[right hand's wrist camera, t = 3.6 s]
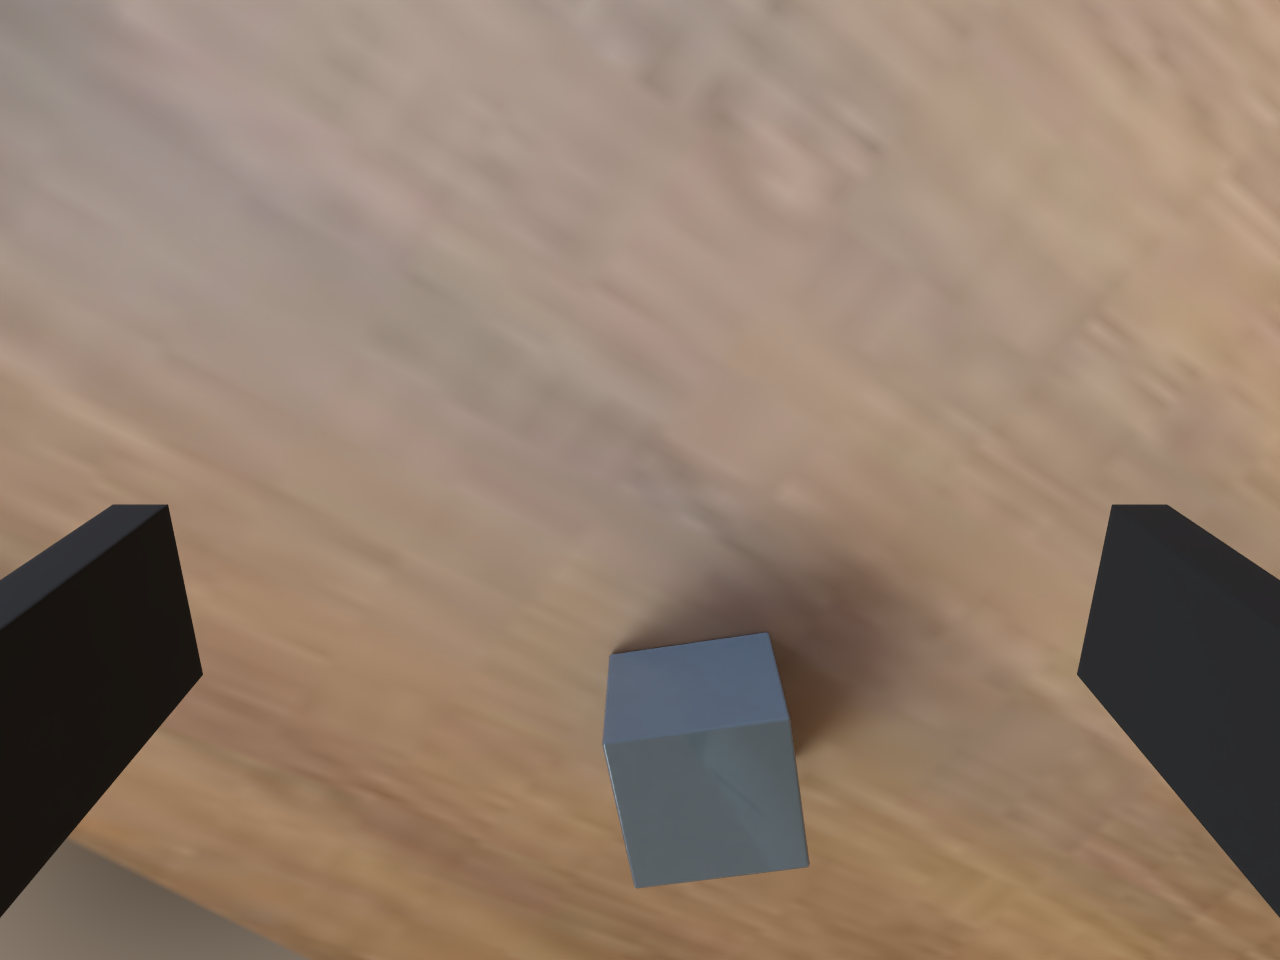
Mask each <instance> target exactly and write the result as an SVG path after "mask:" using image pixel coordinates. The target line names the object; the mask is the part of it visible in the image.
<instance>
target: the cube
mask: <svg viewBox="0 0 1280 960" xmlns="http://www.w3.org/2000/svg"><path fill="white" fill-rule="evenodd" d="M602 745H603V750H604V754H605V759H606V763H607V768H608V772H609V776H610V781H611V785H612V790H613V794H614V799H615V803H616V808H617V812H618V816H619V821H620V825H621V830H622V834H623V839H624V843H625V848H626V852H627V856H628V861H629V865H630V870H631V874H632V879H633V883H634V886H635V888H644V887H652V886H660V885H668V884H676V883H684V882H692V881H700V880H709V879H717V878H725V877H733V876H741V875H749V874H757V873H765V872H773V871H781V870H789V869H798V868H806V867H809V864H810V863H809V855H808V848H807V840H806V833H805V825H804V817H803V810H802V802H801V795H800V787H799V779H798V772H797V764H796V757H795V749H794V741H793V734H792V726H791V719H790V715H789V711H788V707H787V702H786V698H785V694H784V690H783V686H782V682H781V678H780V674H779V670H778V666H777V662H776V658H775V654H774V650H773V646H772V642H771V638H770V634H769V633H768V632H765V633H758V634H751V635H744V636H737V637H730V638H723V639H716V640H709V641H702V642H695V643H688V644H681V645H674V646H667V647H660V648H653V649H646V650H639V651H632V652H625V653H618V654H611V655H610V656H609V666H608V678H607V691H606V704H605V716H604V729H603V741H602Z"/></svg>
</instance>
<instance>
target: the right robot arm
mask: <svg viewBox="0 0 1280 960" xmlns="http://www.w3.org/2000/svg"><path fill="white" fill-rule="evenodd" d="M202 675H203V673H202V668H201V663H200V658H199V653H198V648H197V643H196V638H195V634H194V629H193V624H192V619H191V614H190V609H189V604H188V600H187V595H186V590H185V585H184V580H183V575H182V570H181V566H180V561H179V556H178V551H177V546H176V541H175V536H174V532H173V527H172V522H171V517H170V512H169V507H168V505H112V506H110V507H109V508H107V509H106V510H104V511H103V512H101V513H100V514H98V515H97V516H95V517H94V518H92V519H91V520H89V521H88V522H86V523H85V524H83V525H82V526H80V527H79V528H77V529H76V530H74V531H73V532H71V533H70V534H68V535H67V536H65V537H64V538H62V539H61V540H59V541H58V542H57V543H55V544H54V545H52V546H51V547H49V548H48V549H46V550H45V551H43V552H42V553H40V554H39V555H37V556H36V557H34V558H33V559H31V560H30V561H28V562H27V563H25V564H24V565H22V566H21V567H19V568H18V569H16V570H15V571H13V572H12V573H10V574H9V575H7V576H6V577H4V578H3V579H1V580H0V917H1V916H2V915H3V914H4V913H5V911H6V910H7V909H8V908H9V907H10V905H11V904H12V903H13V902H14V901H15V899H16V898H17V897H18V896H19V895H20V893H21V892H22V891H23V890H24V889H25V887H26V886H27V885H28V884H29V883H30V881H31V880H32V879H33V878H34V877H35V875H36V874H37V873H38V872H39V871H40V869H41V868H42V867H43V866H44V865H45V863H46V862H47V861H48V860H49V859H50V857H51V856H52V855H53V854H54V853H55V851H56V850H57V849H58V848H59V847H60V845H61V844H62V843H63V842H64V841H65V839H66V838H67V837H68V836H69V835H70V833H71V832H72V831H73V830H74V829H75V827H76V826H77V825H78V824H79V823H80V821H81V820H82V819H83V818H84V817H85V815H86V814H87V813H88V812H89V811H90V809H91V808H92V807H93V806H94V805H95V803H96V802H97V801H98V800H99V799H100V797H101V796H102V795H103V794H104V793H105V791H106V790H107V789H108V788H109V787H110V785H111V784H112V783H113V782H114V781H115V779H116V778H117V777H118V776H119V775H120V773H121V772H122V771H123V770H124V769H125V767H126V766H127V765H128V764H129V763H130V761H131V760H132V759H133V758H134V757H135V755H136V754H137V753H138V752H139V751H140V749H141V748H142V747H143V746H144V745H145V744H146V742H147V741H148V740H149V739H150V738H151V736H152V735H153V734H154V733H155V732H156V730H157V729H158V728H159V727H160V726H161V724H162V723H163V722H164V721H165V720H166V718H167V717H168V716H169V715H170V714H171V712H172V711H173V710H174V709H175V708H176V706H177V705H178V704H179V703H180V702H181V700H182V699H183V698H184V697H185V696H186V694H187V693H188V692H189V691H190V690H191V688H192V687H193V686H194V685H195V684H196V682H197V681H198V680H199V679H200V678H201V676H202ZM1077 675H1078V676H1079V678H1080V679H1081V680H1082V681H1083V682H1084V684H1085V685H1086V686H1087V687H1088V688H1089V690H1090V691H1091V692H1092V693H1093V694H1094V696H1095V697H1096V698H1097V699H1098V700H1099V702H1100V703H1101V704H1102V705H1103V706H1104V708H1105V709H1106V710H1107V711H1108V712H1109V714H1110V715H1111V716H1112V717H1113V718H1114V720H1115V721H1116V722H1117V723H1118V724H1119V726H1120V727H1121V728H1122V729H1123V730H1124V732H1125V733H1126V734H1127V735H1128V736H1129V738H1130V739H1131V740H1132V741H1133V742H1134V744H1135V745H1136V746H1137V747H1138V748H1139V749H1140V751H1141V752H1142V753H1143V754H1144V755H1145V757H1146V758H1147V759H1148V760H1149V761H1150V763H1151V764H1152V765H1153V766H1154V767H1155V769H1156V770H1157V771H1158V772H1159V773H1160V775H1161V776H1162V777H1163V778H1164V779H1165V781H1166V782H1167V783H1168V784H1169V785H1170V787H1171V788H1172V789H1173V790H1174V791H1175V793H1176V794H1177V795H1178V796H1179V797H1180V799H1181V800H1182V801H1183V802H1184V803H1185V805H1186V806H1187V807H1188V808H1189V809H1190V811H1191V812H1192V813H1193V814H1194V815H1195V817H1196V818H1197V819H1198V820H1199V821H1200V823H1201V824H1202V825H1203V826H1204V827H1205V829H1206V830H1207V831H1208V832H1209V833H1210V835H1211V836H1212V837H1213V838H1214V839H1215V841H1216V842H1217V843H1218V844H1219V845H1220V847H1221V848H1222V849H1223V850H1224V851H1225V853H1226V854H1227V855H1228V856H1229V857H1230V859H1231V860H1232V861H1233V862H1234V863H1235V865H1236V866H1237V867H1238V868H1239V869H1240V871H1241V872H1242V873H1243V874H1244V875H1245V877H1246V878H1247V879H1248V880H1249V881H1250V883H1251V884H1252V885H1253V886H1254V887H1255V889H1256V890H1257V891H1258V892H1259V893H1260V895H1261V896H1262V897H1263V898H1264V899H1265V901H1266V902H1267V903H1268V904H1269V905H1270V907H1271V908H1272V909H1273V910H1274V911H1275V913H1276V914H1277V915H1278V916H1279V917H1280V580H1279V579H1277V578H1276V577H1274V576H1273V575H1271V574H1270V573H1268V572H1267V571H1265V570H1264V569H1262V568H1261V567H1259V566H1258V565H1256V564H1255V563H1253V562H1252V561H1250V560H1249V559H1247V558H1246V557H1244V556H1243V555H1241V554H1240V553H1238V552H1237V551H1235V550H1234V549H1232V548H1231V547H1229V546H1228V545H1226V544H1225V543H1223V542H1222V541H1221V540H1219V539H1218V538H1216V537H1215V536H1213V535H1212V534H1210V533H1209V532H1207V531H1206V530H1204V529H1203V528H1201V527H1200V526H1198V525H1197V524H1195V523H1194V522H1192V521H1191V520H1189V519H1188V518H1186V517H1185V516H1183V515H1182V514H1180V513H1179V512H1177V511H1176V510H1174V509H1173V508H1171V507H1170V506H1168V505H1112V507H1111V512H1110V517H1109V522H1108V527H1107V532H1106V536H1105V541H1104V546H1103V551H1102V556H1101V561H1100V566H1099V570H1098V575H1097V580H1096V585H1095V590H1094V595H1093V600H1092V604H1091V609H1090V614H1089V619H1088V624H1087V629H1086V634H1085V638H1084V643H1083V648H1082V653H1081V658H1080V663H1079V668H1078V673H1077Z"/></svg>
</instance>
